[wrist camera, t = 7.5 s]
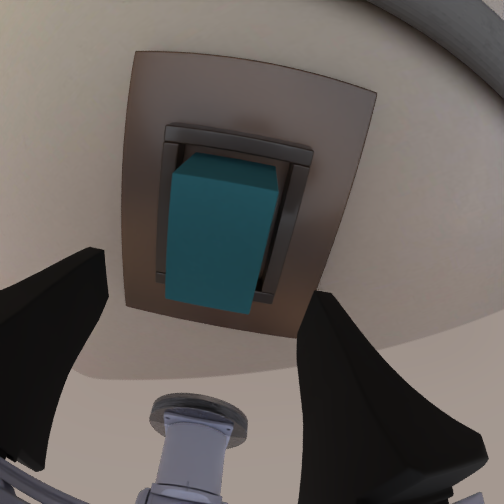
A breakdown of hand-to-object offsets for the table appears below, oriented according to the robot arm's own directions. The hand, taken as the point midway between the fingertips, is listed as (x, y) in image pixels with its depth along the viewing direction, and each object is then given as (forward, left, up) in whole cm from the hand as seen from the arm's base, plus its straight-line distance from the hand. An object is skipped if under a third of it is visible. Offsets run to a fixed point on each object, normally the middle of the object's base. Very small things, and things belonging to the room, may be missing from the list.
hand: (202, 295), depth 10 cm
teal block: (0, 0, -7) cm, 7 cm away
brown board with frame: (0, 0, -8) cm, 8 cm away
